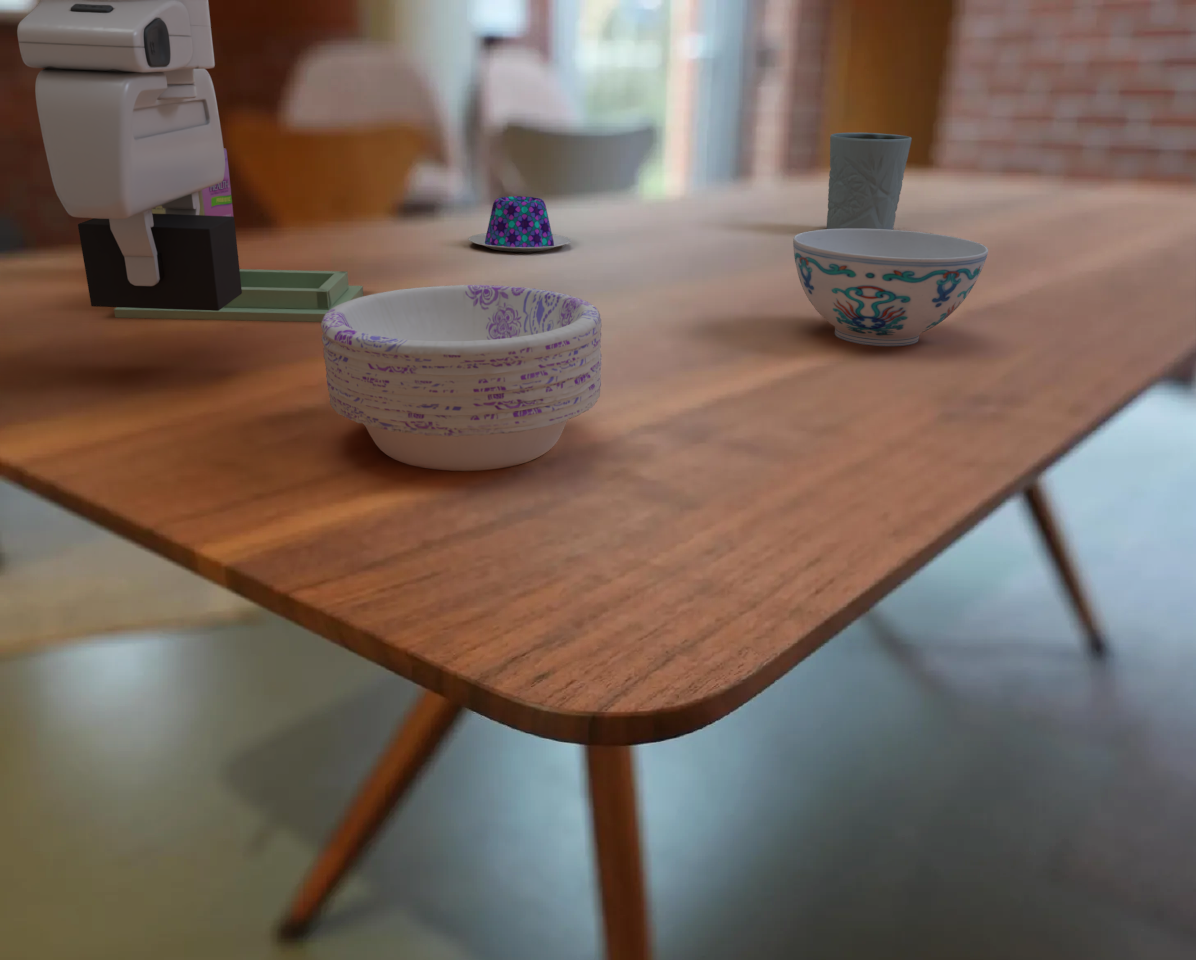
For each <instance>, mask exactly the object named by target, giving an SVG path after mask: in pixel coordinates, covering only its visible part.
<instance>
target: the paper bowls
mask: <svg viewBox="0 0 1196 960" xmlns="http://www.w3.org/2000/svg"><path fill="white" fill-rule="evenodd" d="M602 324H603V323H602V318H601V314H600V311H599V309H598V308H597V307H596V306H595V305H593V304H592V303H591V302H589V301H587V300H584V299H581V298H580V297H579V298H578V297H576V296H573V295H570V294H569V295H568V294H566V293H561V292H558V291H557V292H556V291H552V290H545V289H541V288H535V287H534V288H531V287H523V286H512V285H510V286H509V285H494V284H493V285H492V284H454V285H453V284H452V285H436V286H435V285H434V286H421V287H420V286H419V287H410V288H402V289H401V288H400V289H395V290H388V291H383V292H377V293H372V294H367V295H363V297H359V298H356V299H353V300H350V301H347V302H344V303H342V304H339V305H337V306H335V307H334V308H332V309H330V310H329V311H328V312H327V313H326V314H325V316H324V317H323V320H322V322H320V328H321V333H322V335H321V341H322V345H323V359H324V366H325V371H326V374H325V378H326V386H327V391H328V394H329V395H328V396H329V403H330V406H331V408H332V409H333V410H334V411H335V412H336V413H337V414H338V415H339V416H340V415H341V416H343V417H344V418H346V419H348V420H350V421H353V422H355V423H356V424H363V426H365V428H366V431H367V432H368V434H369V436H370V437H371V439H372V440H373V442H374V444H375V445H376V446H377V448H378V449H379V450H380V451H381V452H382V453H383V454H384V455H386V456H388V457H389V458H390V459H393V460H395V461H398V462H399V463H402V464H405V465H409V466H413V467H417V468H422V469H429V470H437V471H452V472H472V471H473V472H477V471H478V472H479V471H489V470H497V469H498V470H499V469H504V468H505V469H506V468H510V467H514V466H518V465H522V464H525V463H528V462H531V461H533V460H535V459H538V458H540V457H541V456H543V455H545V454H546V453H548V452H550V450H551V449H552V448H553V447H555V445H556V444H557V443H558V442H559V440H560V438H561V435H562V434H563V432H564V429H565V427H566V425H567V423H568V421H569V420H571V419H574V418H576V417H578V416H580V415H582V414H584V413H585V412H588V411H590V410H591V409H593V407H594V406H595V405H596V403H597V402H598V399H599V398H600V396H601V386H602V379H601V378H602V357H603V356H602V350H601V349H602V343H601V342H602V339H601V338H602V326H603V325H602Z"/></svg>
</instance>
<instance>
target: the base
mask: <svg viewBox="0 0 1196 960" xmlns="http://www.w3.org/2000/svg"><path fill="white" fill-rule="evenodd" d="M239 269H240V279H241V289H242V294H240V295H239V296H238V297H236V298H235V299H234V300H232V301H231V302H230V303H228V304H227V305H226V306H224V307H223V308H222V309H220V310H219V311H210V310H182V309H153V308H124V307H114V308H113V313H114V317H115V319H116V318H117V319H158V320H159V319H161V320H202V321H203V320H205V321H207V320H210V321H252V322H253V321H254V322H255V321H256V322H258V321H259V322H260V321H261V322H263V321H264V322H300V323H301V322H302V323H321V322H322V320H323V317H324V316H325V314H326V313H327V312H328V311H329V310H330V309H332V308H334V307H335V306H337V305H339V304H342V303H344V302H347V301H350V300H353V299H356V298H359V297H363V296H364V286H363V285H349V275H348V271H345V270H344V271H343V270H342V271H341V270H339V271H338V270H301V269H298V270H296V269H256V268H255V269H252V268H251V269H249V268H239Z"/></svg>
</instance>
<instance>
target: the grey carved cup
mask: <svg viewBox="0 0 1196 960" xmlns="http://www.w3.org/2000/svg"><path fill="white" fill-rule="evenodd" d="M829 140H830V141H829V168H830V170H829V173H828V174H829V178H828V191H827V192H828V193H827V194H828V195H827V215H826V216H827V217H826V229H887V230H894V226H895V222H896V218H897V217H896V216H897V215H896V212H897V210H898V204H899V202H900V195H901V191H902V187H903V181H904V174H905V170H906V167H907V161H908V158H909V153H910V149H911V144H912V140H913V139H912V137H911V136H907V135H902V134H893V133H892V134H891V133H879V132H837V133H832V134H830V136H829Z"/></svg>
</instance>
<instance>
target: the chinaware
mask: <svg viewBox="0 0 1196 960" xmlns="http://www.w3.org/2000/svg"><path fill="white" fill-rule="evenodd" d="M792 245H793V257H794V264H795V267H796V273H797V276H798V279H799V282H800V285H801V287H802V289H803V291H804V294H805V296H806V298H807V300H808V301H809V303H810V304H811V306H813V308H814V309H815V310H816V312H818V314H820V316H821V317H822V318H823V319H824V320H826V321H827V322H828V323H829V324H830V325H832V326H833V327H834V336H835V337H836V338H839V339H840V340H843V341H846V342H849V343H853V344H860V345H864V346H865V345H867V346H876V347H903V346H911V345H914V344H917V343H918V342H919V340H920V336H921V334H923V333H924V332H927V331H928V330H930V329H932V328H934V327H936V326H938V324H940V323H942V322H943V321H944V320H945V319H947V318H948V317H949V316H951V315H952V314H953V313H954V312H955V311H956V310H957V309H958V308H959V307H960V306H961V305H962V303H963V302H965V300H966V298H967V297H968V296H969V294H970V292H971V291H972V289H973V288H974V285H975V284H976V283H977V281H978V278H979V277H980V275H981V273H982V270H983V268H984V265H985V263H986V260H987V257H988V255H989V248H988V247H987V246H985V245H984V244H982V243H980V242H977V241H974V240H970V239H966V238H961V237H956V236H952V235H946V234H939V233H931V232H923V231H913V230H911V231H910V230H901V229H893V230H887V229H827V228H826V229H825V228H824V229H816V230H807V231H803V232H800V233H797V234H796V235H794V236H793V238H792Z"/></svg>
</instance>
